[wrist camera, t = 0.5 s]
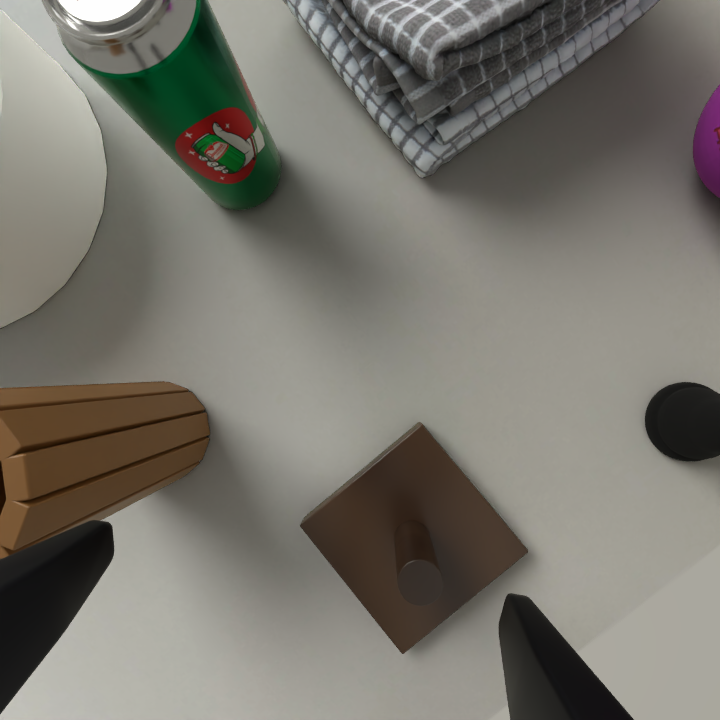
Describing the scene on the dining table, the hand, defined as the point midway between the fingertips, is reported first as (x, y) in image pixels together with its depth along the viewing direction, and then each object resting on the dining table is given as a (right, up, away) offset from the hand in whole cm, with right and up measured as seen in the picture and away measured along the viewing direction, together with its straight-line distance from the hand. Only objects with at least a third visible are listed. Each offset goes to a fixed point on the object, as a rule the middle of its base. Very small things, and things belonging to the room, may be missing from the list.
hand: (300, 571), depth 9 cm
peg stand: (+4, -5, +14) cm, 15 cm away
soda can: (-6, +16, +15) cm, 23 cm away
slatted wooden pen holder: (-11, 0, +15) cm, 18 cm away
